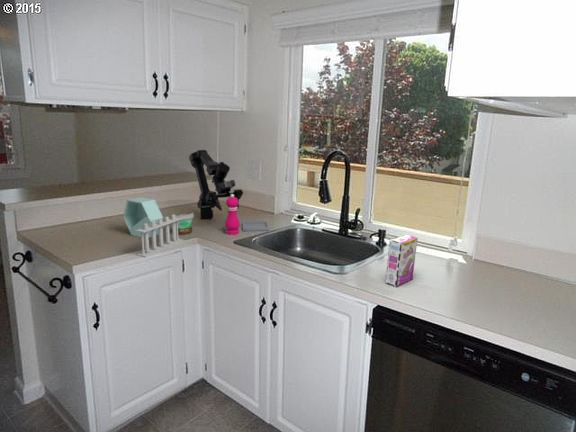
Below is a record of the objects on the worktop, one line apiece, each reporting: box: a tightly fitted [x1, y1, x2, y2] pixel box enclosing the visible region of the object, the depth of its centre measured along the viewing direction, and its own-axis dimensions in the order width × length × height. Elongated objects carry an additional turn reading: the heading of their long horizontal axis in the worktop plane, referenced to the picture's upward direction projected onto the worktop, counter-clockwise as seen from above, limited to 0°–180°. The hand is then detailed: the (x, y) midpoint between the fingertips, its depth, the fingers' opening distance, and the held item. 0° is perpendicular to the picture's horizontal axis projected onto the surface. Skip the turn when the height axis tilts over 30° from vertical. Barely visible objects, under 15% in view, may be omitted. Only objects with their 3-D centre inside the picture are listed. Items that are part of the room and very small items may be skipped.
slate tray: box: [242, 220, 270, 232], centre depth 208 cm, size 13×13×2 cm
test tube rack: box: [136, 214, 184, 259], centre depth 171 cm, size 25×4×13 cm, turn 157°
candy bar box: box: [385, 234, 419, 288], centre depth 141 cm, size 11×5×16 cm, turn 133°
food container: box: [169, 210, 195, 236], centre depth 193 cm, size 12×6×10 cm, turn 131°
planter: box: [122, 196, 164, 238], centre depth 188 cm, size 17×8×21 cm
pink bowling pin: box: [224, 194, 241, 236], centre depth 194 cm, size 7×7×20 cm
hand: (229, 209), depth 196 cm, fingers open, 9 cm apart
